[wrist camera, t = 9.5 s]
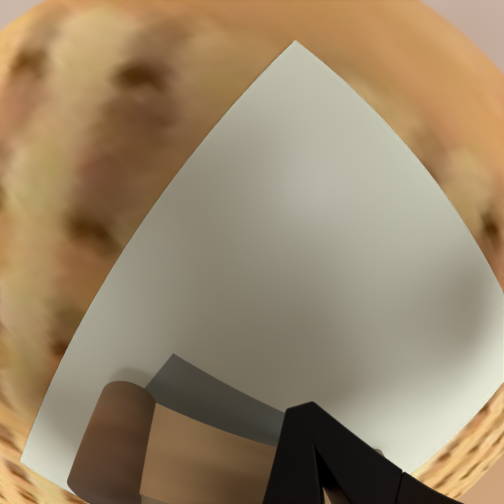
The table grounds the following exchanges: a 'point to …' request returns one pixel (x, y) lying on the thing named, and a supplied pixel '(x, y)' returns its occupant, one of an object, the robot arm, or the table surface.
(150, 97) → the table surface
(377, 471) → the robot arm
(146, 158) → the table surface
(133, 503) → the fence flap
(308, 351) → the card
